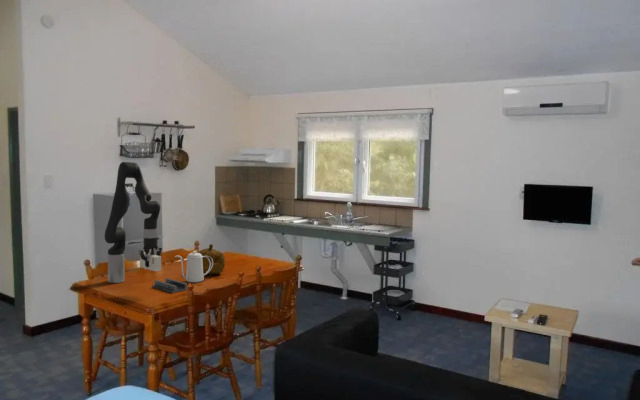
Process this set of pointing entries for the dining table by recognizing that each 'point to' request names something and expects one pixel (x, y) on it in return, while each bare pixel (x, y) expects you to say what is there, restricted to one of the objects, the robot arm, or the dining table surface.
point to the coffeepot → (195, 267)
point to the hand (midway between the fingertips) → (150, 266)
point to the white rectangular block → (152, 263)
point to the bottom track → (170, 285)
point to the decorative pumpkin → (217, 260)
